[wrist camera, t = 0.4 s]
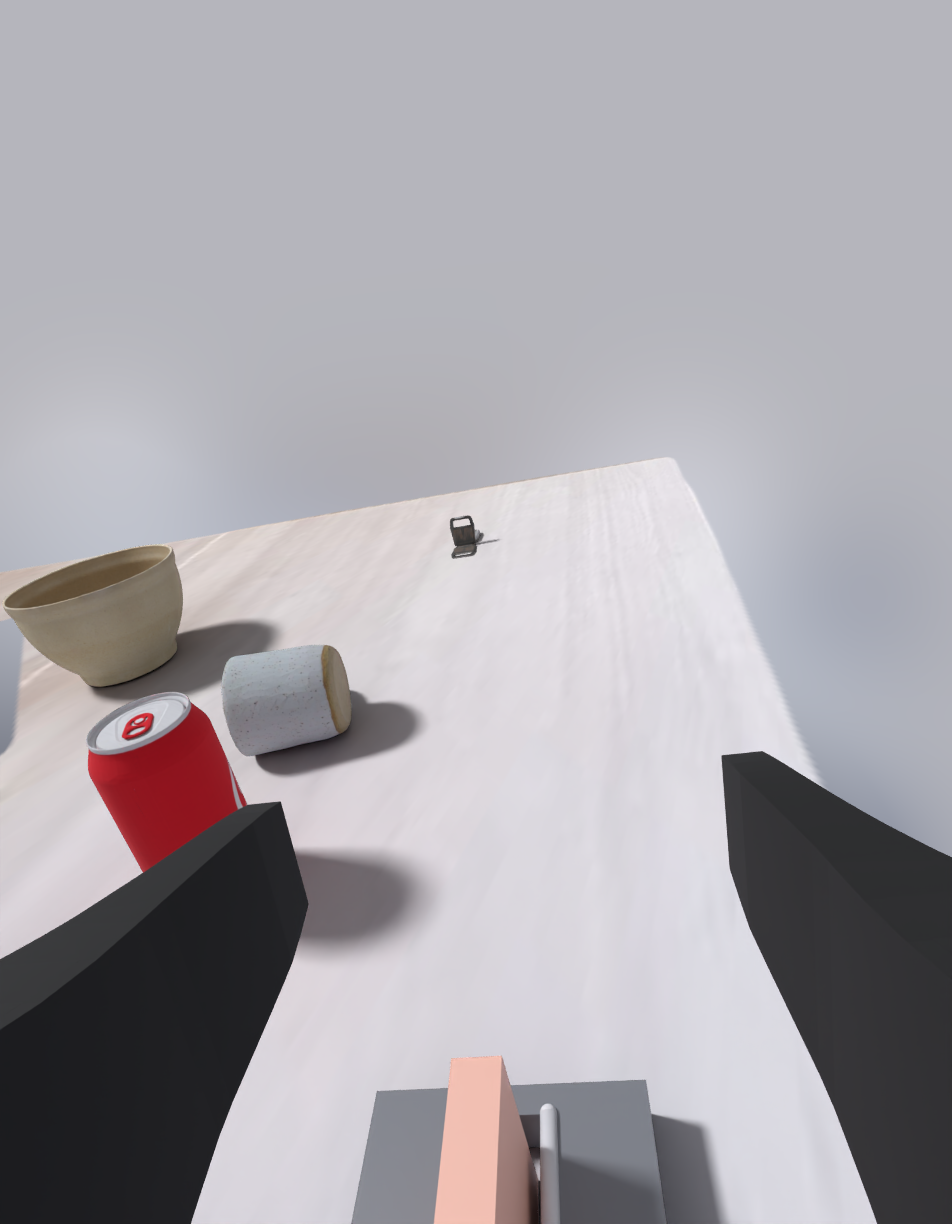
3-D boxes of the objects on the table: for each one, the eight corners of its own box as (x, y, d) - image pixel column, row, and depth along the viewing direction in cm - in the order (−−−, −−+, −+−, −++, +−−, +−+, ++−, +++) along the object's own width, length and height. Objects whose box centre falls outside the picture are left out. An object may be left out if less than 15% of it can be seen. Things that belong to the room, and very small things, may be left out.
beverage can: (272, 834, 44) (203, 674, 39) (274, 904, 38) (195, 728, 33) (172, 870, 42) (88, 709, 38) (160, 948, 37) (60, 772, 32)
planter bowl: (238, 627, 77) (203, 538, 73) (131, 709, 64) (81, 605, 60) (135, 630, 84) (97, 547, 79) (18, 705, 70) (-36, 611, 66)
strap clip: (459, 538, 92) (452, 508, 90) (481, 534, 91) (475, 504, 89) (451, 561, 84) (443, 529, 82) (475, 558, 83) (467, 525, 82)
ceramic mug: (354, 751, 50) (324, 660, 47) (245, 777, 50) (208, 688, 47) (360, 683, 60) (335, 604, 57) (268, 705, 60) (239, 627, 57)
